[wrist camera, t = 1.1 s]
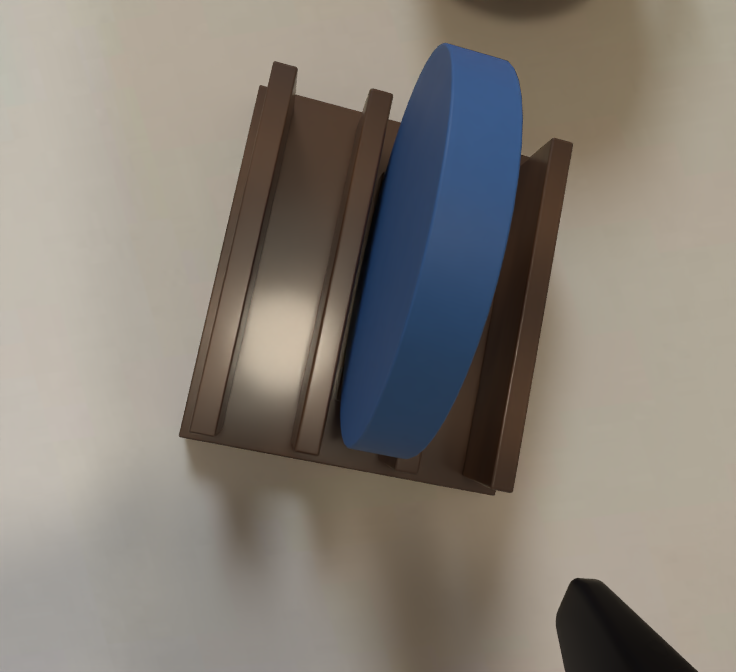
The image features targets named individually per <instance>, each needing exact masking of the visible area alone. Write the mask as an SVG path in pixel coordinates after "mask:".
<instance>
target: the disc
mask: <svg viewBox="0 0 736 672" xmlns="http://www.w3.org/2000/svg"><path fill="white" fill-rule="evenodd" d="M522 124H523V114H522V96H521V90H520V84H519V79H518V77H517V74H516V72H515V69H514V68H513V67H512V65H511V64H510V63H509V62H508V61H506V60H503V59H500V58H496V57H493V56H489V55H486V54H482V53H479V52H475V51H472V50H468V49H465V48H461V47H458V46H455V45H451V44H448V43H443V44H441V45H439V46H438V47H437V48H436V49H435V50H434V51H433V53H432V54H431V56H430V57H429V59H428V61H427V62H426V64H425V66H424V68H423V70H422V72H421V74H420V76H419V78H418V81H417V83H416V85H415V87H414V90H413V92H412V95H411V97H410V100H409V102H408V105H407V108H406V110H405V113H404V116H403V118H402V121H401V124H400V127H399V130H398V133H397V136H396V139H395V142H394V145H393V148H392V152H391V155H390V158H389V161H388V165H387V168H386V171H385V175H384V179H383V182H382V186H381V189H380V193H379V196H378V200H377V204H376V208H375V211H374V215H373V219H372V223H371V227H370V231H369V236H368V240H367V244H366V248H365V253H364V257H363V261H362V266H361V271H360V275H359V280H358V285H357V290H356V295H355V300H354V305H353V311H352V316H351V322H350V328H349V334H348V340H347V347H346V354H345V361H344V369H343V378H342V389H341V405H340V423H341V433H342V438H343V442H344V444H345V445H346V447H347V448H349V449H355V450H360V451H365V452H370V453H375V454H381V455H386V456H391V457H396V458H402V459H410V458H412V457H415V456H417V455H418V454H419V453H420V452H422V451H423V450H424V449H425V448H426V447H427V445H428V444H429V443H430V442H431V441H432V439H433V438H434V437H435V435H436V434H437V432H438V431H439V429H440V427H441V426H442V424H443V423H444V421H445V419H446V417H447V415H448V414H449V412H450V410H451V408H452V406H453V404H454V402H455V400H456V398H457V396H458V394H459V391H460V389H461V387H462V385H463V382H464V380H465V378H466V376H467V373H468V371H469V368H470V365H471V363H472V360H473V357H474V355H475V352H476V350H477V347H478V344H479V341H480V338H481V335H482V332H483V329H484V326H485V323H486V320H487V317H488V314H489V311H490V307H491V304H492V300H493V297H494V293H495V290H496V286H497V283H498V279H499V275H500V271H501V267H502V262H503V258H504V254H505V250H506V246H507V241H508V236H509V231H510V226H511V221H512V216H513V211H514V205H515V198H516V191H517V185H518V178H519V169H520V159H521V148H522Z"/></svg>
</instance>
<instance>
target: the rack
mask: <svg viewBox="0 0 736 672" xmlns="http://www.w3.org/2000/svg"><path fill="white" fill-rule="evenodd" d="M297 72H298V69H297V67H294V66H291V65H287V64H283V63H280V62H276V61H274V62H273V66H272V70H271V74H270V79H269V83H268V87H265V86H262V85H260V86H259V90H258V94H257V99H256V103H255V107H254V112H253V116H252V120H251V125H250V129H249V133H248V138H247V142H246V146H245V151H244V155H243V159H242V164H241V168H240V172H239V177H238V181H237V185H236V190H235V194H234V198H233V203H232V207H231V211H230V216H229V220H228V224H227V229H226V233H225V237H224V242H223V246H222V250H221V255H220V259H219V263H218V268H217V272H216V277H215V281H214V285H213V290H212V294H211V298H210V303H209V307H208V311H207V316H206V320H205V324H204V329H203V333H202V337H201V342H200V346H199V350H198V355H197V359H196V363H195V368H194V372H193V376H192V381H191V385H190V389H189V394H188V398H187V402H186V407H185V411H184V415H183V420H182V424H181V428H180V433H179V437H182V438H188V439H193V440H198V441H204V442H209V443H214V444H220V445H225V446H230V447H236V448H241V449H247V450H252V451H257V452H263V453H268V454H273V455H279V456H284V457H289V458H295V459H300V460H305V461H311V462H316V463H321V464H327V465H332V466H338V467H343V468H348V469H354V470H359V471H364V472H370V473H375V474H380V475H386V476H391V477H396V478H402V479H407V480H412V481H418V482H423V483H429V484H434V485H439V486H445V487H450V488H455V489H461V490H466V491H471V492H477V493H482V494H487V495H493V496H494V495H495V492H496V490H498V491H503V492H508V493H511V492H513V488H514V482H515V477H516V471H517V465H518V459H519V453H520V448H521V442H522V436H523V430H524V425H525V419H526V413H527V407H528V401H529V396H530V390H531V384H532V378H533V373H534V367H535V361H536V355H537V349H538V344H539V338H540V332H541V326H542V321H543V315H544V309H545V303H546V298H547V292H548V286H549V280H550V274H551V269H552V263H553V257H554V251H555V246H556V240H557V234H558V228H559V222H560V217H561V211H562V205H563V199H564V194H565V188H566V182H567V176H568V170H569V165H570V159H571V153H572V147H573V143H571V142H567V141H564V140H560V139H556V138H552V139H551V140H550V141H548V142H547V143H546V144H545V145H544V146H543V147H541V148H540V149H539V150H538V151H537V152H536V153H535V154H533V155H532V156H531V157H527V156H523V155H521V159H520V169H519V178H518V185H517V191H516V198H515V205H514V211H513V216H512V221H511V226H510V231H509V236H508V241H507V246H506V250H505V254H504V258H503V262H502V267H501V271H500V275H499V279H498V283H497V286H496V290H495V293H494V297H493V300H492V304H491V307H490V311H489V314H488V317H487V320H486V323H485V326H484V329H483V332H482V335H481V338H480V341H479V344H478V347H477V350H476V352H475V355H474V357H473V360H472V363H471V365H470V368H469V371H468V373H467V376H466V378H465V380H464V382H463V385H462V387H461V389H460V391H459V394H458V396H457V398H456V400H455V402H454V404H453V406H452V408H451V410H450V412H449V414H448V415H447V417H446V419H445V421H444V423H443V424H442V426H441V427H440V429H439V431H438V432H437V434H436V435H435V437H434V438H433V439H432V441H431V442H430V443H429V444H428V445H427V447H426V448H425V449H424V450H423V451H422V452H420V453H419V454H418V455H417V456H415V457H412V458H410V459H402V458H396V457H391V456H386V455H381V454H375V453H370V452H365V451H360V450H355V449H349V448H347V447H346V445H345V444H344V442H343V438H342V433H341V423H340V405H341V389H342V378H343V369H344V361H345V354H346V347H347V340H348V334H349V328H350V322H351V316H352V311H353V305H354V300H355V295H356V290H357V285H358V280H359V275H360V271H361V266H362V261H363V257H364V253H365V248H366V244H367V240H368V236H369V231H370V227H371V223H372V219H373V215H374V211H375V208H376V204H377V200H378V196H379V193H380V189H381V186H382V182H383V179H384V175H385V171H386V168H387V165H388V161H389V158H390V155H391V152H392V148H393V145H394V142H395V139H396V136H397V133H398V130H399V127H400V124H401V123H400V122H396V121H392V120H389V114H390V109H391V105H392V100H393V94H391V93H388V92H384V91H380V90H377V89H370V91H369V94H368V97H367V99H366V102H365V105H364V108H363V111H362V112H359V111H355V110H351V109H348V108H344V107H340V106H336V105H333V104H329V103H325V102H321V101H318V100H314V99H310V98H306V97H303V96H299V95H295V93H296V83H297Z"/></svg>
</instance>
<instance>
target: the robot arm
mask: <svg viewBox="0 0 736 672" xmlns="http://www.w3.org/2000/svg"><path fill="white" fill-rule="evenodd" d="M556 629H557V635H558V639H559V644H560V649H561V654H562V659H563V663H564V668H565V672H698V671H697V670H696V669H695V668H694V667H692V666H691V665H690V664H689V663H688V662H687V661H686V660H685V659H684V658H683V657H682V656H681V655H680V654H679V653H678V652H676V651H675V650H674V649H673V648H672V647H671V646H670V645H669V644H668V643H667V642H666V641H665V640H664V639H663V638H662V637H661V636H659V635H658V634H657V633H656V632H655V631H654V630H653V629H652V628H651V627H650V626H649V625H648V624H647V623H646V622H645V621H643V620H642V619H641V618H640V617H639V616H638V615H637V614H636V613H635V612H634V611H633V610H632V609H631V608H630V607H629V606H627V605H626V604H625V603H624V602H623V601H622V600H621V599H620V598H619V597H618V596H617V595H616V594H615V593H614V592H613V591H611V590H610V589H609V588H608V587H607V586H606V585H605V584H604V583H603V582H601V581H599V580H597V579H584V578H576V579H574V580H572V581H571V582H570V584H569V586H568V589H567V591H566V593H565V595H564V598H563V600H562V602H561V605H560V607H559V609H558V612H557V616H556Z"/></svg>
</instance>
